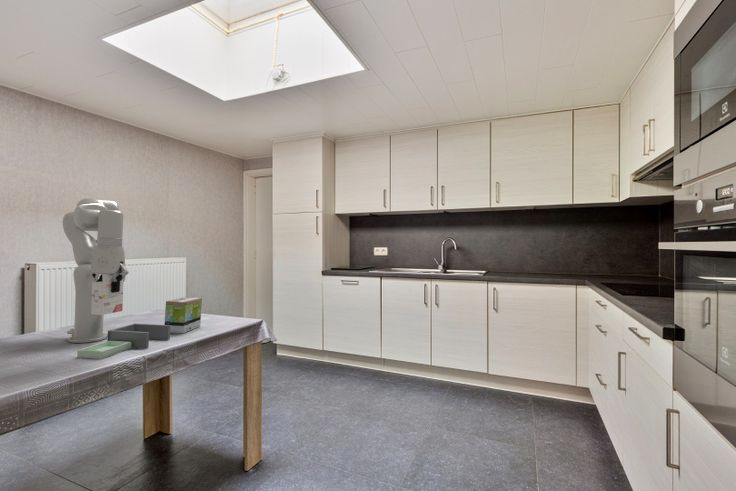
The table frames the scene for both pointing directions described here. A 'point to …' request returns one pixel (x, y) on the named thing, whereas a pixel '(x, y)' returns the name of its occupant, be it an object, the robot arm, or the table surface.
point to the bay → (139, 334)
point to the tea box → (183, 314)
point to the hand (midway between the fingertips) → (107, 291)
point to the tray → (104, 349)
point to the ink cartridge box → (106, 297)
